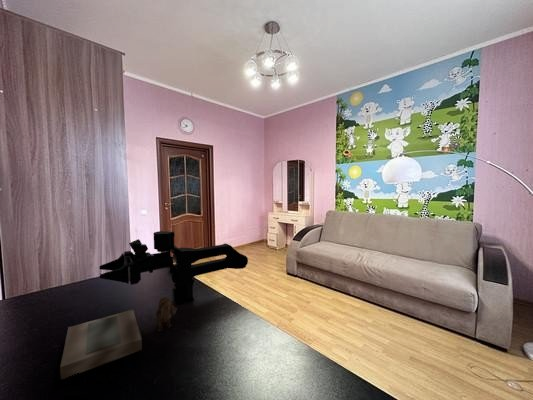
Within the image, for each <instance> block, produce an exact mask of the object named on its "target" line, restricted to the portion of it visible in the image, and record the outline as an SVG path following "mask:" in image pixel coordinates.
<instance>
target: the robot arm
mask: <svg viewBox="0 0 533 400" xmlns="http://www.w3.org/2000/svg"><path fill="white" fill-rule="evenodd" d="M128 244H129V246H130V249H132V251H131V250H126V251H123V252H122V253H121V255H120V256H119V257H118V258H116V259H114V260H112V261H109V262H106V263H104V264H101V265H99V267H98V268H99V270H101V271H102V270H103V271H107V272H103V273H101V274H99V279H100V280H101V279H102V280H108V281H114V282H115V281H116V282H118V283H119V282H120V283H125V284H127V285H129V284H130V286H131V285H132V286H133V285H137V284H139V282H140V281H141V280H142V277H141V274H143V273H147V272H148V273H149V274H152V273H154V271H156V270H157V271H158V270H162V269H166V268H167V276H168V278H169V279H170V280H171V281H172V283H173V288H172V290H171V292H172V293H171V297H172V301H173V302H174V303H175V304H176V305H177V306H180V305H183V304H186V303H190V302H193V301H195V297H194V292H193V291H194V290H193V288H194V287H193V286H194V283H195V279H194V278H195V277H197V276H201V275H206V274H209V273H210V274H211V273H214V272H218V271H222V270H226V269H232V270H233V269H235V270H243V269H245V268H246V267H247V265H248V263H249V258H248V256H246V255H244V254H243V253H241V252H239V251H237V250H236V249H235V248H234V247H233V246H232V245H231V244H229V243H223V244H217V245H211V246H206V247H205V246H204V247H199V248H194V247H178V246H176V245H175V232H174V231H172V230H171V231H166V230H165V231H163V230H159V231H155V232H153V249H154V250H156V253H150V252H147V251H148V250H149V248H148V246H147V244H145V243H142V242H141V240H140V239H139V238H138V239H135V240H133V241H131V242H129V243H128ZM171 254H172V255H171ZM220 256H221V257H222V256H225V257H224V258H223V257H222V258H217V259H214V260H213V259H212V260H208V261H204V262H199V263H197V262H198V261H199V260H200V261H201V260H204V259H209V258H215V257H220ZM174 262H175V263H174Z"/></svg>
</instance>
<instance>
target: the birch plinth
mask: <svg viewBox="0 0 533 400" xmlns="http://www.w3.org/2000/svg"><path fill="white" fill-rule="evenodd" d="M142 342H143V341H142V335H141V332H140V328H139V326H138V321H137V318H136V315H135V311H134V309H130V310H127V311H123V312H120V313H116V314H112V315H108V316H105V317H102V318H97V319H94V320H90V321H86V322H82V323H79V324H76V325H73V326H68V329H67V333H66V338H65V342H64V348H63V353H62V358H61V361H60V366H59V373H60V374H59V375H60V380H61V379H63V380H65V379H67V377H68V378H70V377H69V376H71V377H73V376H75V375H74V374H76V375H78V374H77V373H79V374H81V373H84V372H87V371H89V370H91V369H94V368H97V367H100V366H102V365H105V364H108V363H111V362H114V361H116V360H118V359H121V358H125V357H126V356H130V355H131V354H134V353H137V352H139V351H142V350H143V343H142ZM72 375H73V376H72Z"/></svg>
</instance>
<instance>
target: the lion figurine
mask: <svg viewBox="0 0 533 400" xmlns="http://www.w3.org/2000/svg"><path fill="white" fill-rule="evenodd" d="M177 310H178V307H176V306H174V305H173V304H172V301H171V300H170V299H169V297H165V296H164V297H162V298H161V299H159V301H158V308H157V310H156V320H157V324H158V328H157V331H158V332H161V331H163V325H162V323H166V327H167V328H171V327H172V324H171V323H170V322H171V318H172V315H175V314H176V312H177Z"/></svg>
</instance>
